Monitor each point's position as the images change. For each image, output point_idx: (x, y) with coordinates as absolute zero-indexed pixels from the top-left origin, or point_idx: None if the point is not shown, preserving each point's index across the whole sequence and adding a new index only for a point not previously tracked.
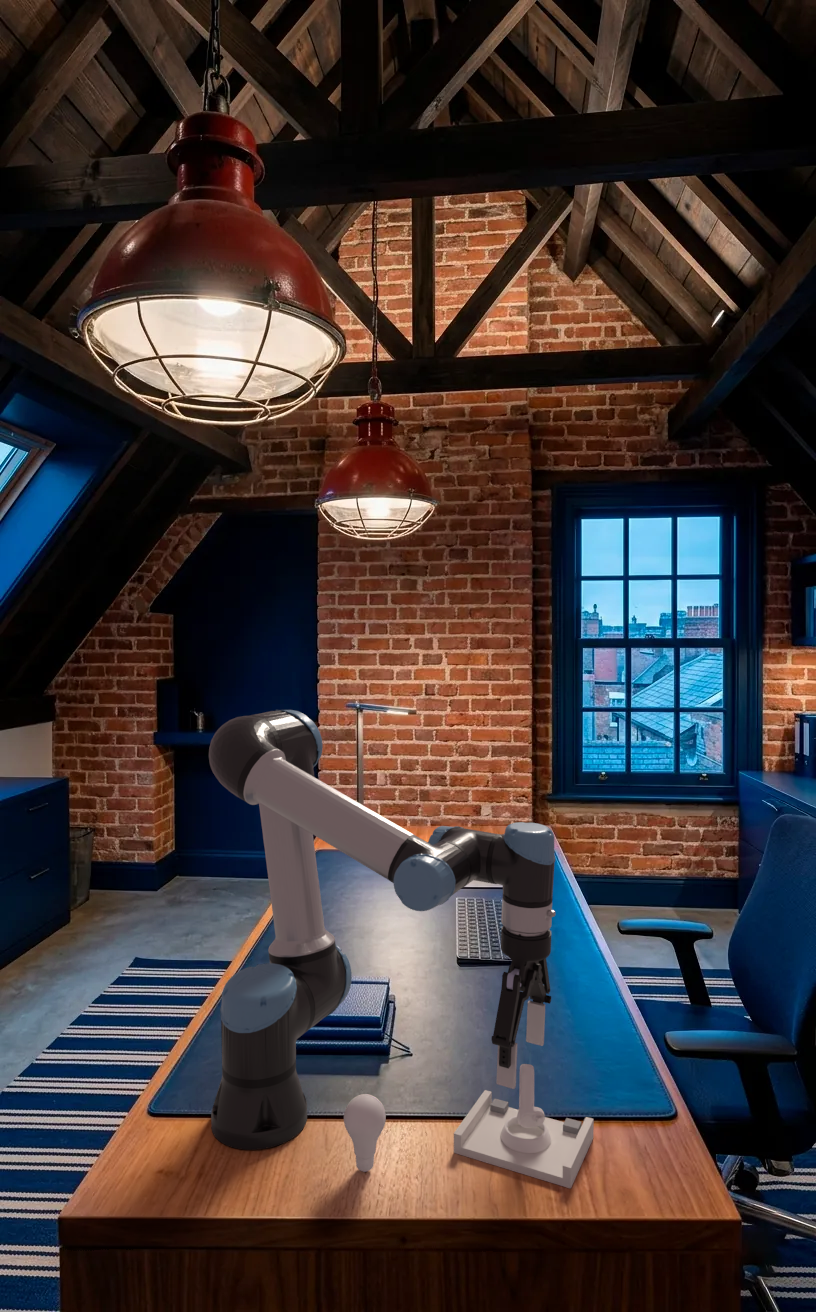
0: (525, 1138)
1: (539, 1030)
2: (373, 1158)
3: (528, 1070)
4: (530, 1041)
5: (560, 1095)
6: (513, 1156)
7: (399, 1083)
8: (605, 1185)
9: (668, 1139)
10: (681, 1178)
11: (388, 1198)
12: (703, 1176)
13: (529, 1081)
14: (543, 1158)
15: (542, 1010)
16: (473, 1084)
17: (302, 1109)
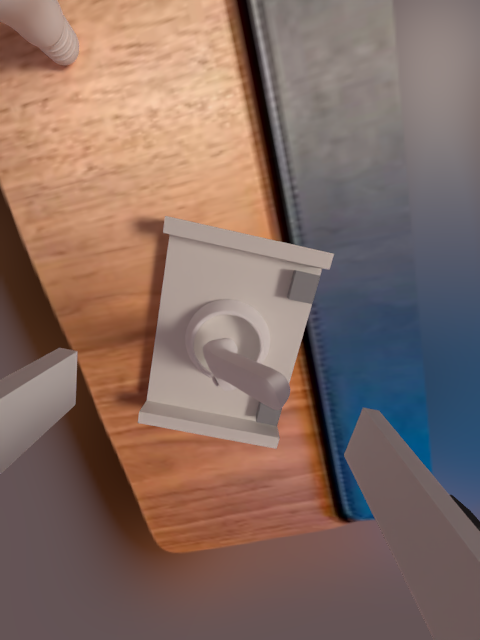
0: None
1: (373, 492)
2: (53, 53)
3: (263, 397)
4: (359, 424)
5: (380, 377)
6: (173, 327)
7: (387, 35)
8: (171, 443)
9: (290, 511)
10: (213, 519)
11: (19, 129)
12: (224, 540)
13: (246, 390)
14: (182, 371)
15: (432, 626)
16: (400, 217)
17: None
